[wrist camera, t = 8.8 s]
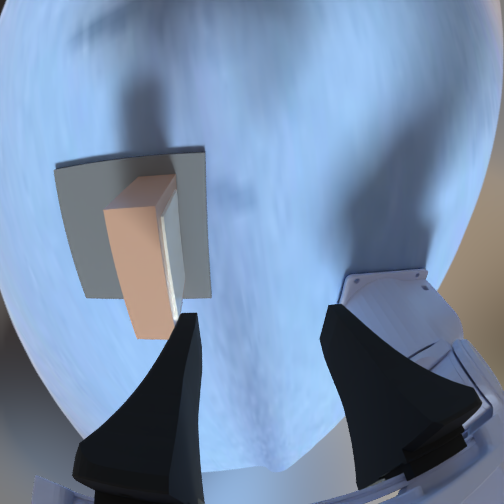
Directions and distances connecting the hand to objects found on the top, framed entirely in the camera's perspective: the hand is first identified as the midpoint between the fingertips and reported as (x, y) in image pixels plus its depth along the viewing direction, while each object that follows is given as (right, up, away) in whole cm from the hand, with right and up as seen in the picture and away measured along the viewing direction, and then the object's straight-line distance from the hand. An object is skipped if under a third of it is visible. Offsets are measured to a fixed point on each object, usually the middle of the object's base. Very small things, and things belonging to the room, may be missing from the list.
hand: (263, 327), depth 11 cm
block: (-7, +4, +7) cm, 11 cm away
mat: (-9, +4, +7) cm, 12 cm away
